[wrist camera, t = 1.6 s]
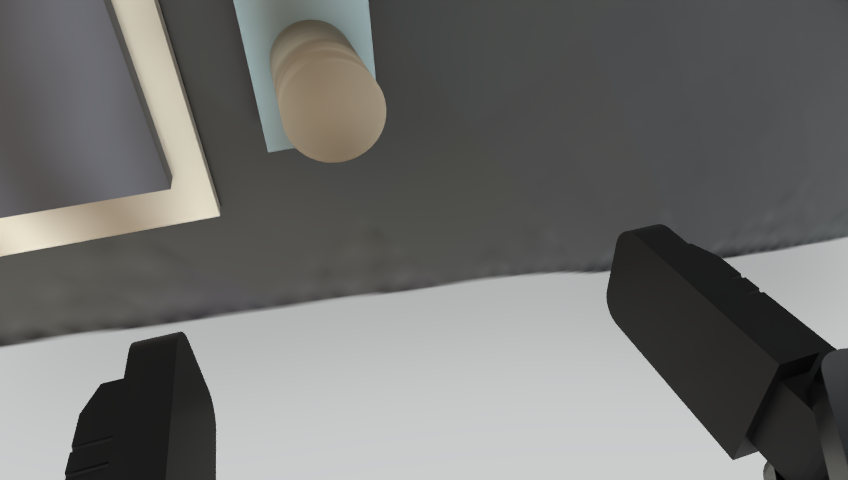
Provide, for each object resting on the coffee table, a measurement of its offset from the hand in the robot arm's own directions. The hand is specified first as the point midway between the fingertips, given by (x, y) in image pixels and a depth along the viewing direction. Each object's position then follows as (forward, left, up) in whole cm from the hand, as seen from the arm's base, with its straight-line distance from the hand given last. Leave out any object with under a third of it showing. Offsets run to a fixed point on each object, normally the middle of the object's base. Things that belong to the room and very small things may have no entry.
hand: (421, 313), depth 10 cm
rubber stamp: (0, 0, -19) cm, 19 cm away
